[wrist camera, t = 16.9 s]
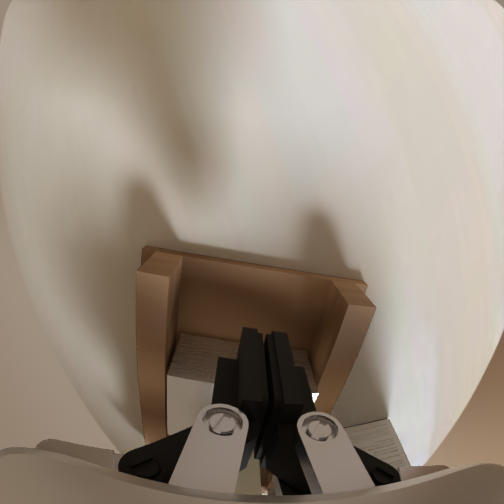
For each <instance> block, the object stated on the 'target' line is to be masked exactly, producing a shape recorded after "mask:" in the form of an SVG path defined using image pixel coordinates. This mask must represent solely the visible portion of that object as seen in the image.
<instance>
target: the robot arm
mask: <svg viewBox="0 0 504 504" xmlns="http://www.w3.org/2000/svg"><path fill="white" fill-rule="evenodd" d="M253 449H254V459H259V463H260V468H266V469H267V470H268V471H269V472H271V473H272V474H273V475H272V482H273V485H274V489H275V492H276V496H275V495H247V494H234V491H235V487H236V483H237V478H238V474H239V472H240V471H242V470H243V469H245V468H246V467H247V464H248V461H249V459H250V458H251V455H252V452H253ZM0 504H504V466H502V465H499V464H495V463H473V464H465V465H461V466H456V467H452V468H449V467H447V466H443V465H435V466H406V467H400V466H399V467H398V468H397V469H395V468H394V467H393V466H391V465H390V464H388V463H386V462H384V461H382V460H380V459H378V458H376V457H374V456H372V455H370V454H368V453H367V452H365V451H363V450H361V449H359V448H357V447H356V446H354V445H352V443H351V441H350V439H349V438H348V436H347V434H346V432H345V430H344V428H343V427H342V425H341V424H340V422H339V421H338V420H337V419H336V418H334V417H333V416H331V415H329V414H327V413H323V412H317V411H316V407H315V404H314V400H313V397H312V393H311V389H310V386H309V382H308V379H307V375H306V372H305V369H304V367H298V366H295V364H294V360H293V355H292V351H291V347H290V343H289V339H288V335H287V333H285V332H277V331H272V332H271V334H266V336H265V340H264V344H263V334H262V333H258V330H257V329H255V328H248V327H243V328H242V332H241V338H240V343H239V348H238V353H237V358H236V359H231V358H224V357H218V362H217V368H216V375H215V382H214V388H213V395H212V403H211V405H209V406H206V407H204V408H203V409H201V410H200V412H199V413H198V415H197V417H196V420H195V422H194V424H193V426H191V427H188V428H186V429H184V430H182V431H179V432H177V433H175V434H172V435H170V436H168V437H165V438H163V439H160V440H158V441H155V442H153V443H150V444H148V445H145V446H142V447H140V448H137V449H134V450H131V451H129V452H128V453H126V454H116V453H114V451H113V450H108V449H101V448H94V447H89V446H84V445H79V444H74V443H69V442H64V441H60V440H55V439H47V440H44V441H42V442H40V443H39V444H38V445H37V446H36V448H25V447H10V448H5V449H2V450H0Z"/></svg>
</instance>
